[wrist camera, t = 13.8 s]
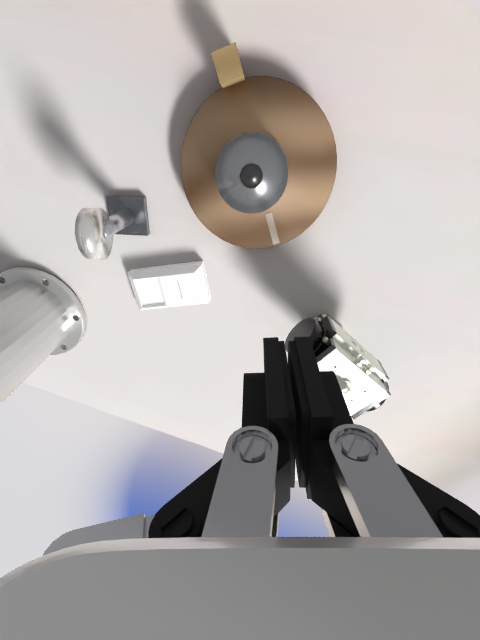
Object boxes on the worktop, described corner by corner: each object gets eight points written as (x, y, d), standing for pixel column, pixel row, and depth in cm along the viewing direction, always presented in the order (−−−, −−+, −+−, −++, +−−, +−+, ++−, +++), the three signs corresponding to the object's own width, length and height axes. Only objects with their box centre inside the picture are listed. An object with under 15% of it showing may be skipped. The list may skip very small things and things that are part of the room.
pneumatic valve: (340, 364, 44) (365, 434, 34) (279, 313, 41) (285, 372, 30) (373, 340, 42) (411, 405, 31) (311, 283, 39) (330, 336, 28)
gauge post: (115, 233, 37) (65, 265, 28) (109, 193, 35) (52, 212, 25) (149, 235, 37) (111, 267, 27) (145, 194, 35) (102, 214, 25)
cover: (246, 222, 33) (244, 231, 30) (203, 166, 31) (196, 168, 28) (301, 179, 31) (305, 183, 28) (259, 114, 29) (259, 110, 26)
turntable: (345, 222, 34) (355, 231, 30) (213, 261, 37) (208, 273, 33) (313, 23, 26) (321, 5, 23) (150, 92, 29) (135, 84, 26)
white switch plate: (211, 296, 41) (208, 306, 38) (144, 303, 42) (136, 313, 39) (204, 259, 38) (200, 266, 36) (132, 267, 39) (124, 275, 37)
